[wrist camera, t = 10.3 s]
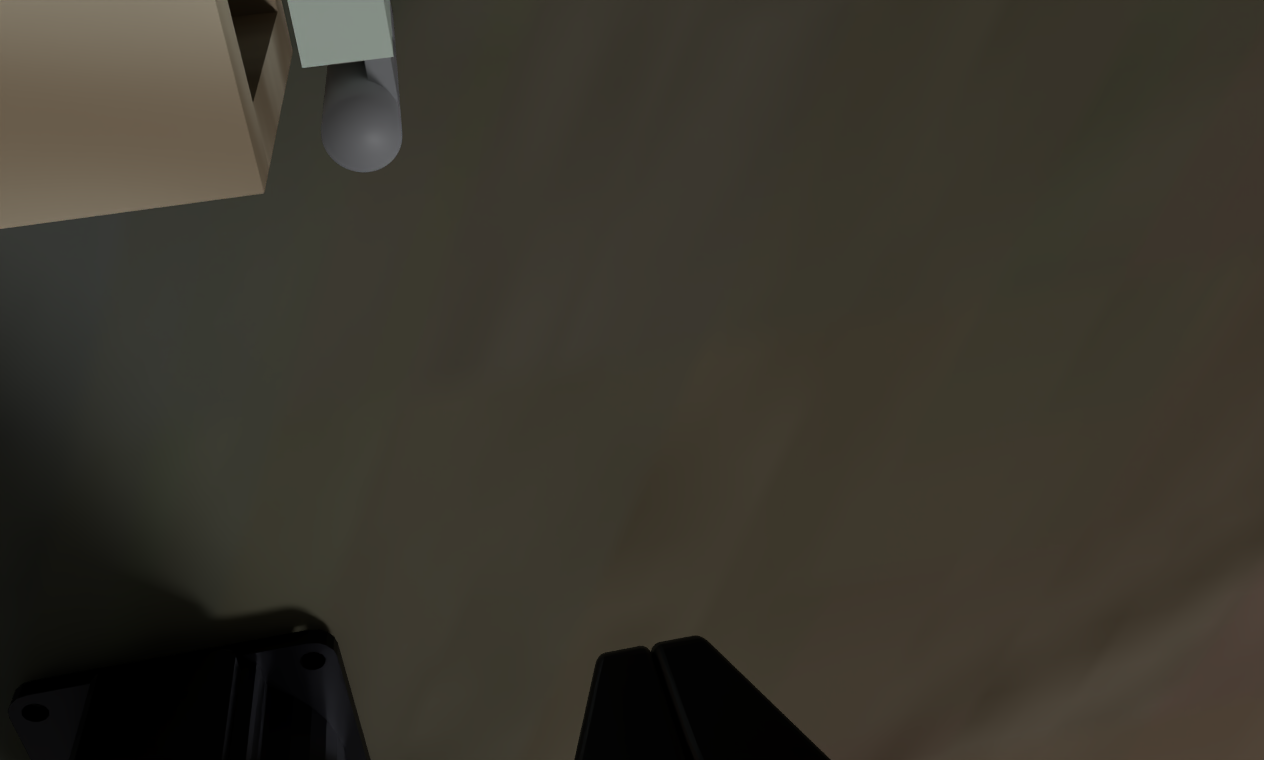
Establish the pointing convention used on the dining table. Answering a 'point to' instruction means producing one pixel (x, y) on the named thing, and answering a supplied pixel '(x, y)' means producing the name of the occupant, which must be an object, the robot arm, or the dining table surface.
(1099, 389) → the dining table surface
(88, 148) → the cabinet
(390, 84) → the door
